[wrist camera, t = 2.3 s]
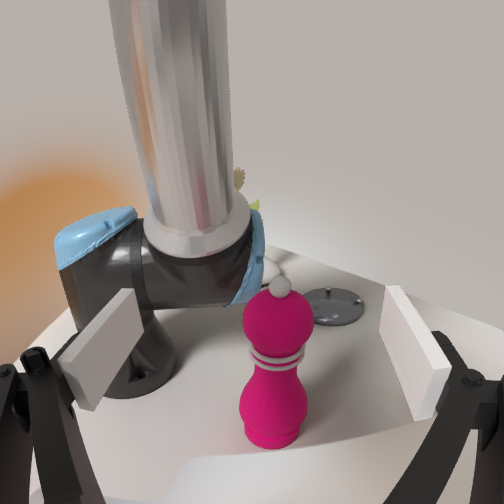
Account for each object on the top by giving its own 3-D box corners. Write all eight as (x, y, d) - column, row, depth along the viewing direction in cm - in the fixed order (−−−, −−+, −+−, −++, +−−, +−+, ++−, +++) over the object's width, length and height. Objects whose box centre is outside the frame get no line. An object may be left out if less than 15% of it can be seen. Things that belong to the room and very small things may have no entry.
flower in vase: (264, 265, 80) (259, 161, 71) (290, 281, 70) (288, 164, 61) (214, 278, 74) (204, 167, 65) (236, 298, 64) (227, 170, 56)
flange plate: (300, 327, 53) (300, 319, 53) (298, 294, 65) (298, 286, 64) (369, 324, 52) (370, 316, 52) (356, 292, 63) (356, 285, 63)
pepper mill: (304, 453, 30) (333, 302, 22) (237, 452, 30) (228, 300, 22) (301, 406, 36) (320, 258, 28) (242, 404, 37) (238, 256, 29)
